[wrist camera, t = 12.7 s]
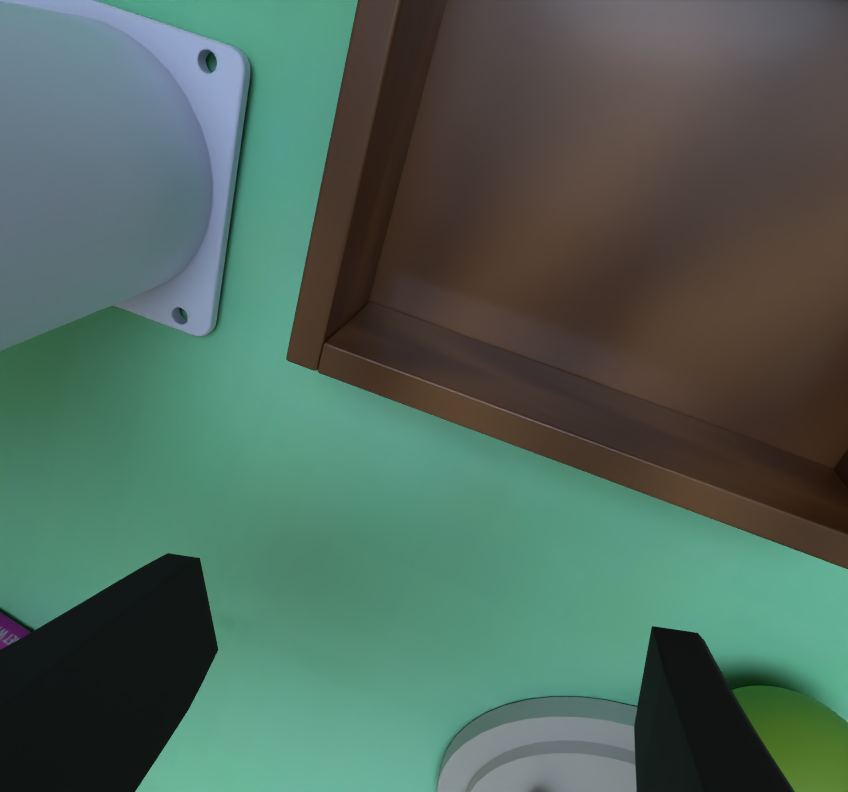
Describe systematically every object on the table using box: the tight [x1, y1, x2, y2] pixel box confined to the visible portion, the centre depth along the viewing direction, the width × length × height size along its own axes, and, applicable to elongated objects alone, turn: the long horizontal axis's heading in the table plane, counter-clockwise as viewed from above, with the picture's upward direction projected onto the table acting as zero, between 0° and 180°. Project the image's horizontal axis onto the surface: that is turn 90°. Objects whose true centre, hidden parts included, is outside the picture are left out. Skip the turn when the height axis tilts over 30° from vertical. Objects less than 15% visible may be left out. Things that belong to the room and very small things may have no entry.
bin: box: [286, 0, 848, 569], centre depth 13 cm, size 15×12×4 cm
